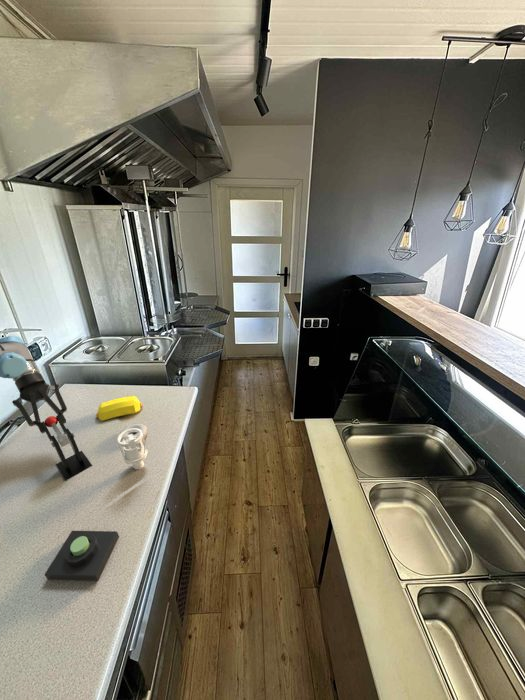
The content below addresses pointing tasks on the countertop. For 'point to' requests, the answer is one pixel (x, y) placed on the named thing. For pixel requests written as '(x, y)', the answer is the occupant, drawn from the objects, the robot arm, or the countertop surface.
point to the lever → (57, 430)
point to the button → (79, 546)
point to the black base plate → (83, 557)
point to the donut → (139, 426)
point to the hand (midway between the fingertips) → (59, 436)
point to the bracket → (70, 458)
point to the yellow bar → (118, 407)
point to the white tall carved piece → (133, 448)
